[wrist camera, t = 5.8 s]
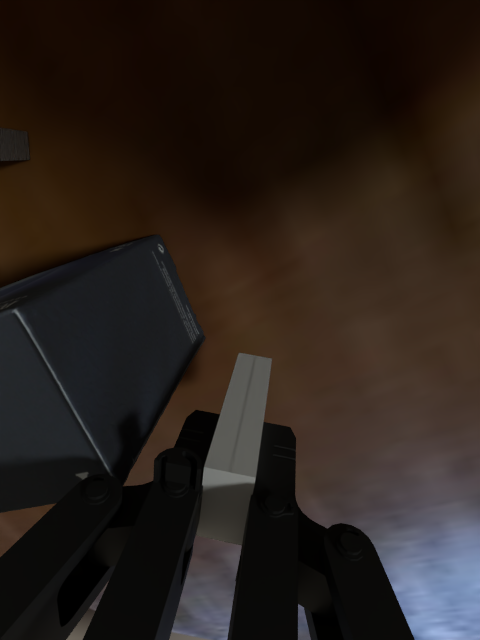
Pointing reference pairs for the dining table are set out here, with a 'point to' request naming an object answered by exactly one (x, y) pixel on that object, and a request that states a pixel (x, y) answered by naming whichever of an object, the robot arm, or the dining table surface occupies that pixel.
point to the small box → (88, 368)
